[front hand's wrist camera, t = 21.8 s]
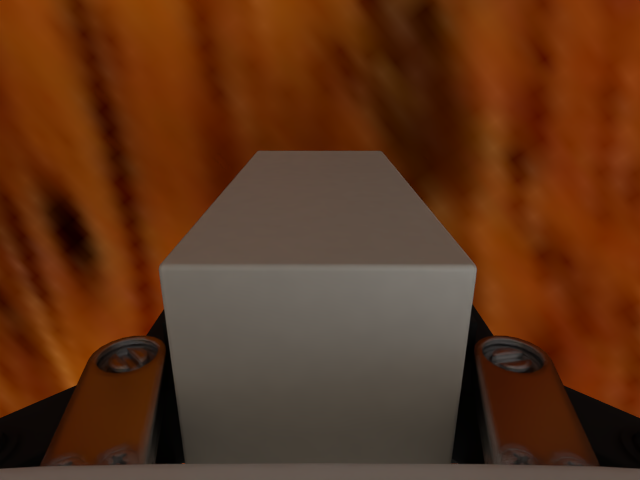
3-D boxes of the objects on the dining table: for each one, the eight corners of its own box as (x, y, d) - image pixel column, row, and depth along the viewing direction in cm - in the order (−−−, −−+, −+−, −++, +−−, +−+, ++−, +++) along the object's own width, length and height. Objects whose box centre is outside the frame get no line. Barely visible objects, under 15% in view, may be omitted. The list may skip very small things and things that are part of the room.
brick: (265, 329, 17) (203, 611, 8) (256, 150, 15) (155, 265, 6) (373, 329, 17) (432, 611, 8) (382, 150, 15) (479, 265, 6)
